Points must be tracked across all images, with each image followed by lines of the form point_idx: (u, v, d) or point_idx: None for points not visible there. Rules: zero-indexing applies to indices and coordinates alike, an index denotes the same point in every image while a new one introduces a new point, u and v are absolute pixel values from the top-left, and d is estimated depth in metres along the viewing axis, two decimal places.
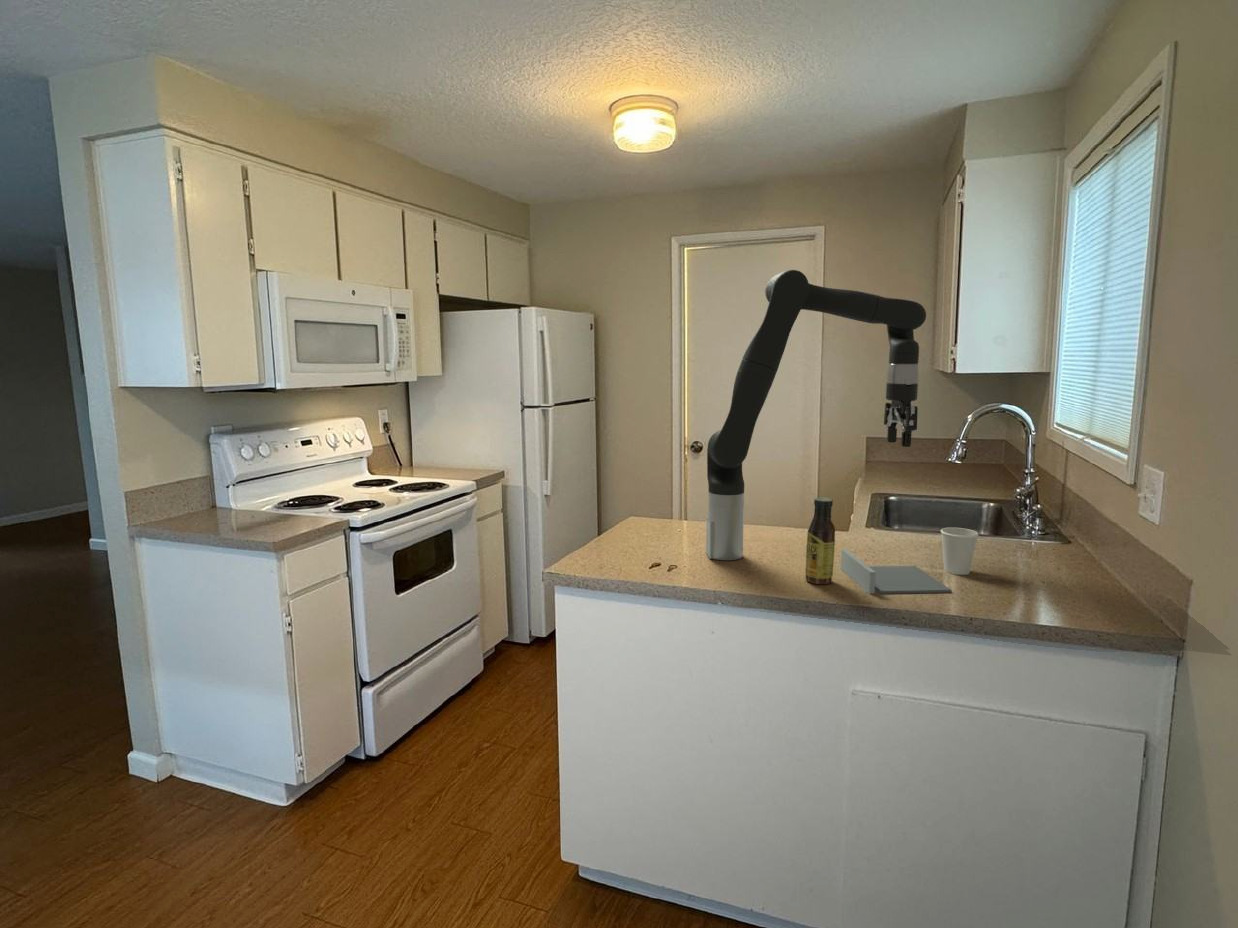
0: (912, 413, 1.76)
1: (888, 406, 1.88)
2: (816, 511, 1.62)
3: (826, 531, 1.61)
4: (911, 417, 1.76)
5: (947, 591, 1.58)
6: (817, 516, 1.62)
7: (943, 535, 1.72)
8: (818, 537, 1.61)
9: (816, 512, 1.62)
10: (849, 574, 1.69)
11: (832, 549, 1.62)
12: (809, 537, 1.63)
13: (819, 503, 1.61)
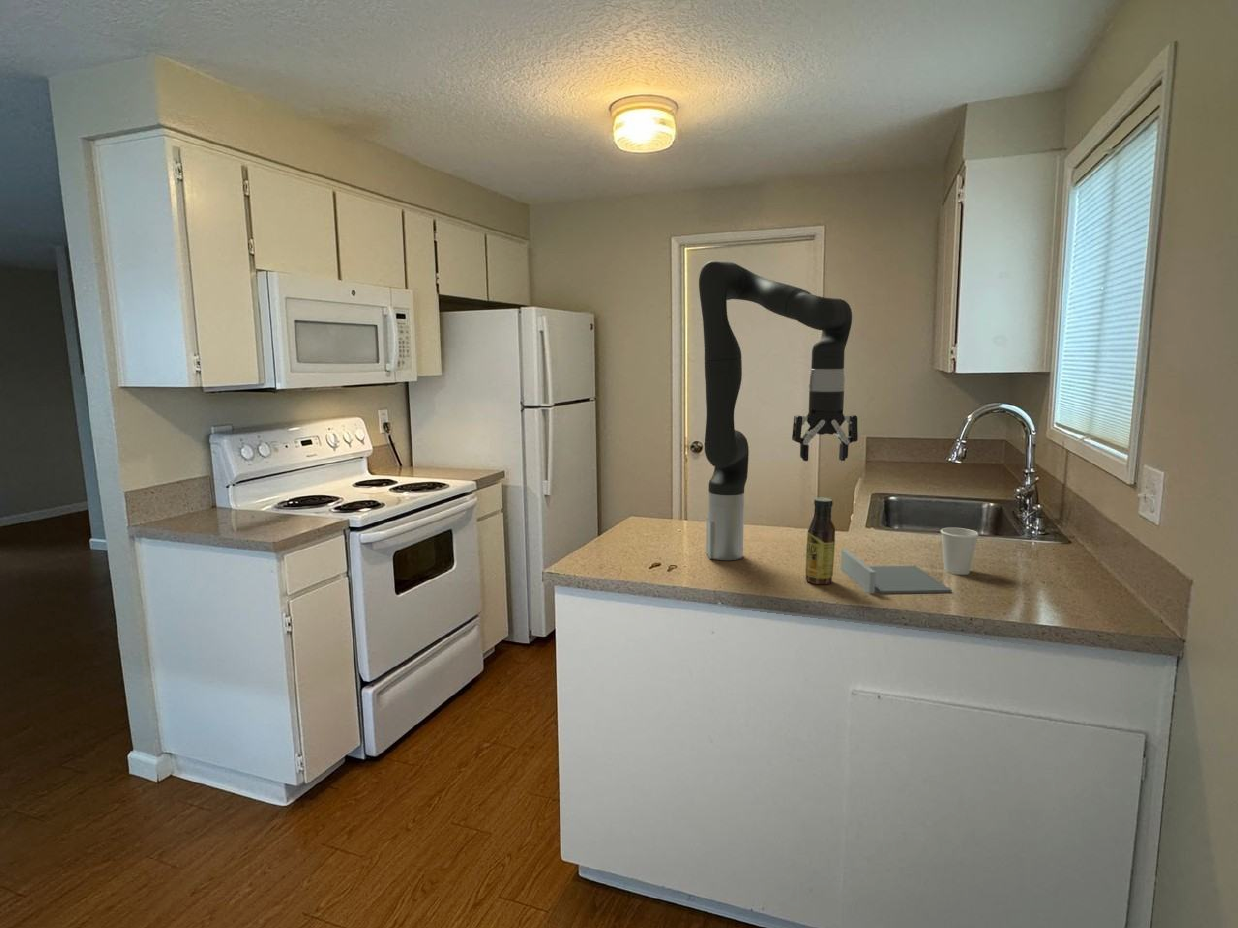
0: None
1: None
2: (816, 511, 1.62)
3: (826, 531, 1.61)
4: None
5: (947, 591, 1.58)
6: (817, 516, 1.62)
7: (943, 535, 1.72)
8: (818, 537, 1.61)
9: (816, 512, 1.62)
10: (849, 574, 1.69)
11: (832, 549, 1.62)
12: (809, 537, 1.63)
13: (819, 503, 1.61)
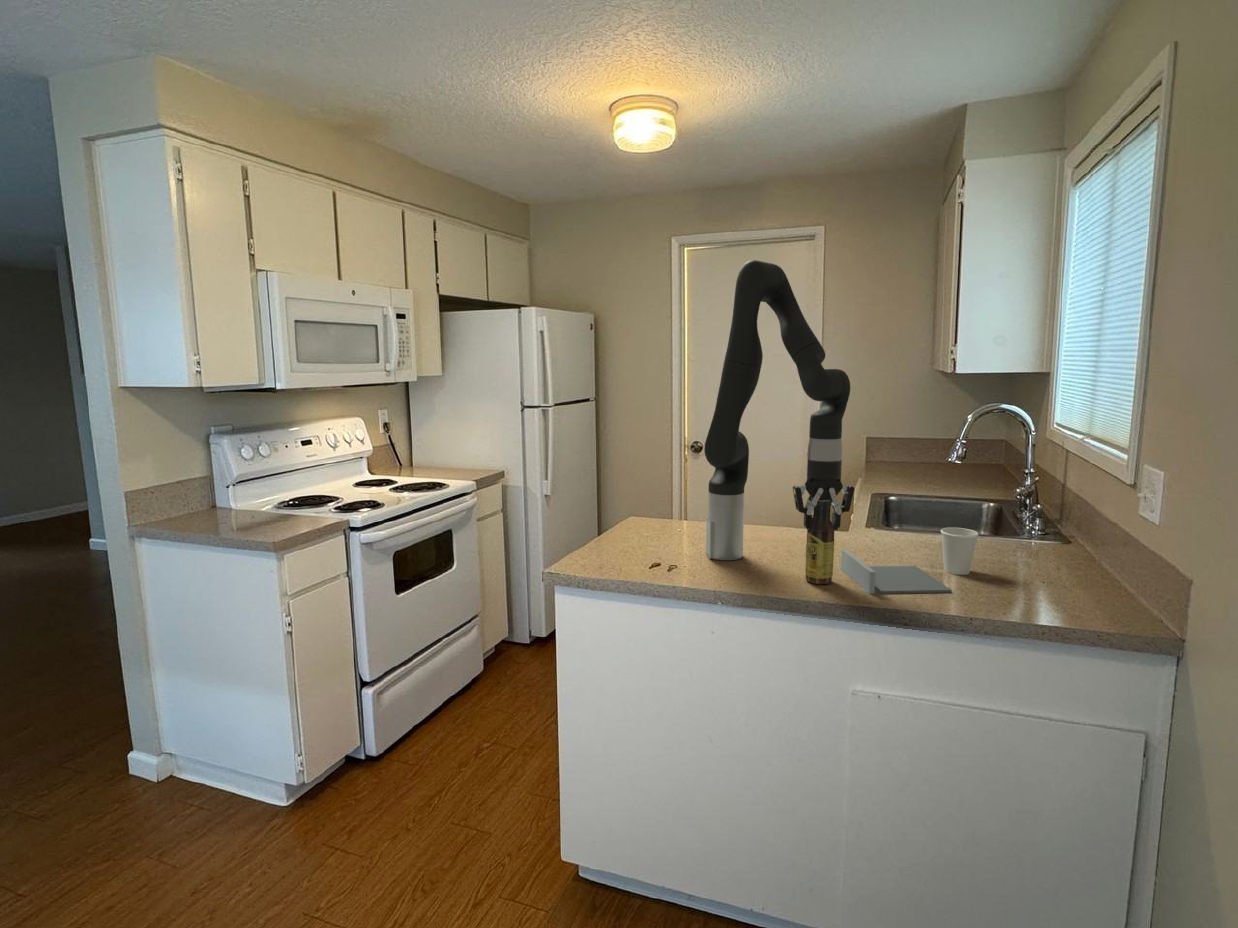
0: None
1: None
2: (815, 511, 1.62)
3: (826, 531, 1.60)
4: None
5: (947, 591, 1.58)
6: (816, 516, 1.62)
7: (943, 535, 1.72)
8: (818, 537, 1.61)
9: (815, 512, 1.62)
10: (849, 574, 1.69)
11: (832, 549, 1.62)
12: (808, 537, 1.63)
13: (818, 503, 1.61)
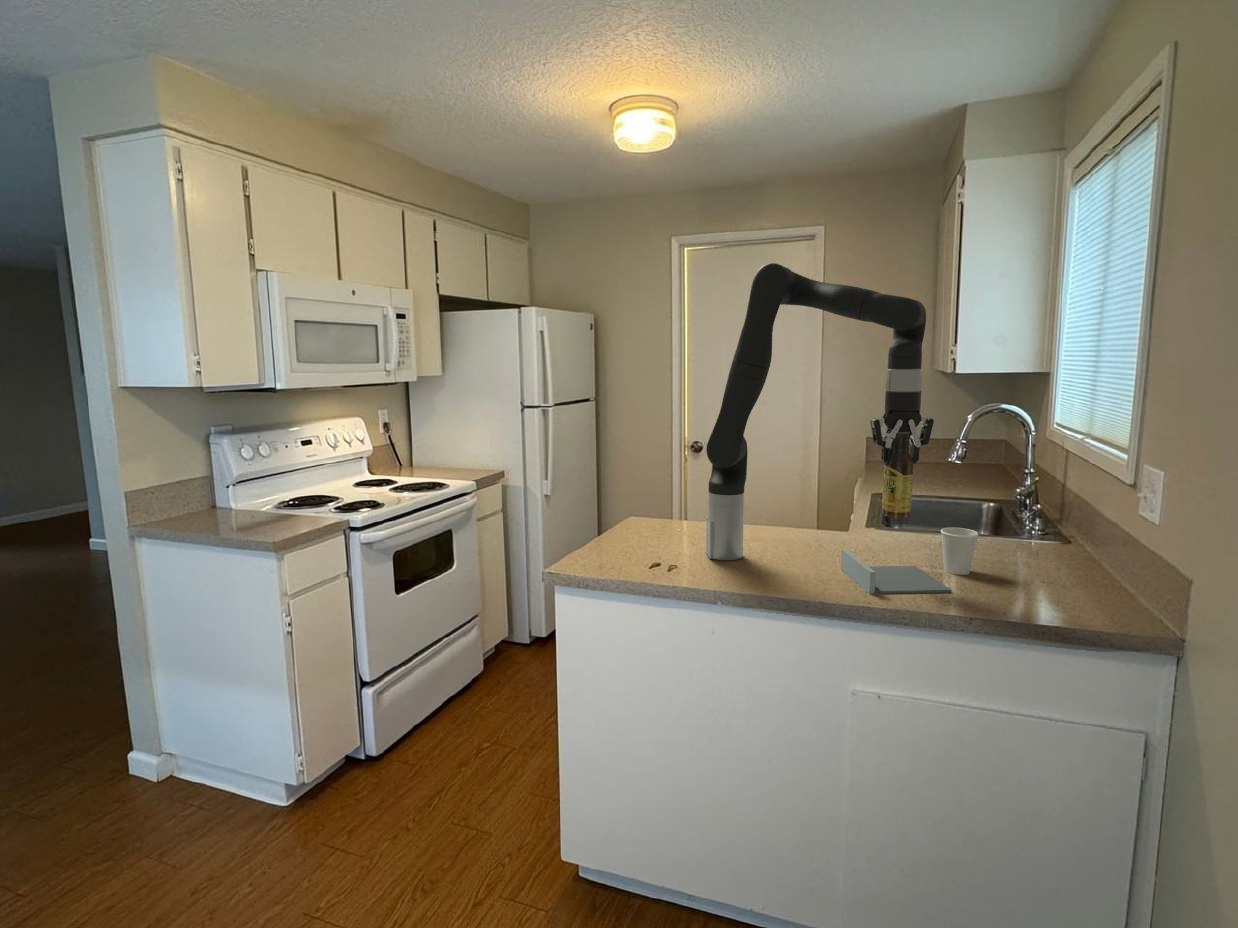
0: None
1: None
2: (894, 444, 1.60)
3: (905, 463, 1.59)
4: None
5: (947, 591, 1.58)
6: (895, 449, 1.60)
7: (943, 535, 1.72)
8: (897, 469, 1.59)
9: (894, 445, 1.60)
10: (849, 574, 1.69)
11: (911, 482, 1.60)
12: (887, 471, 1.61)
13: (897, 435, 1.59)
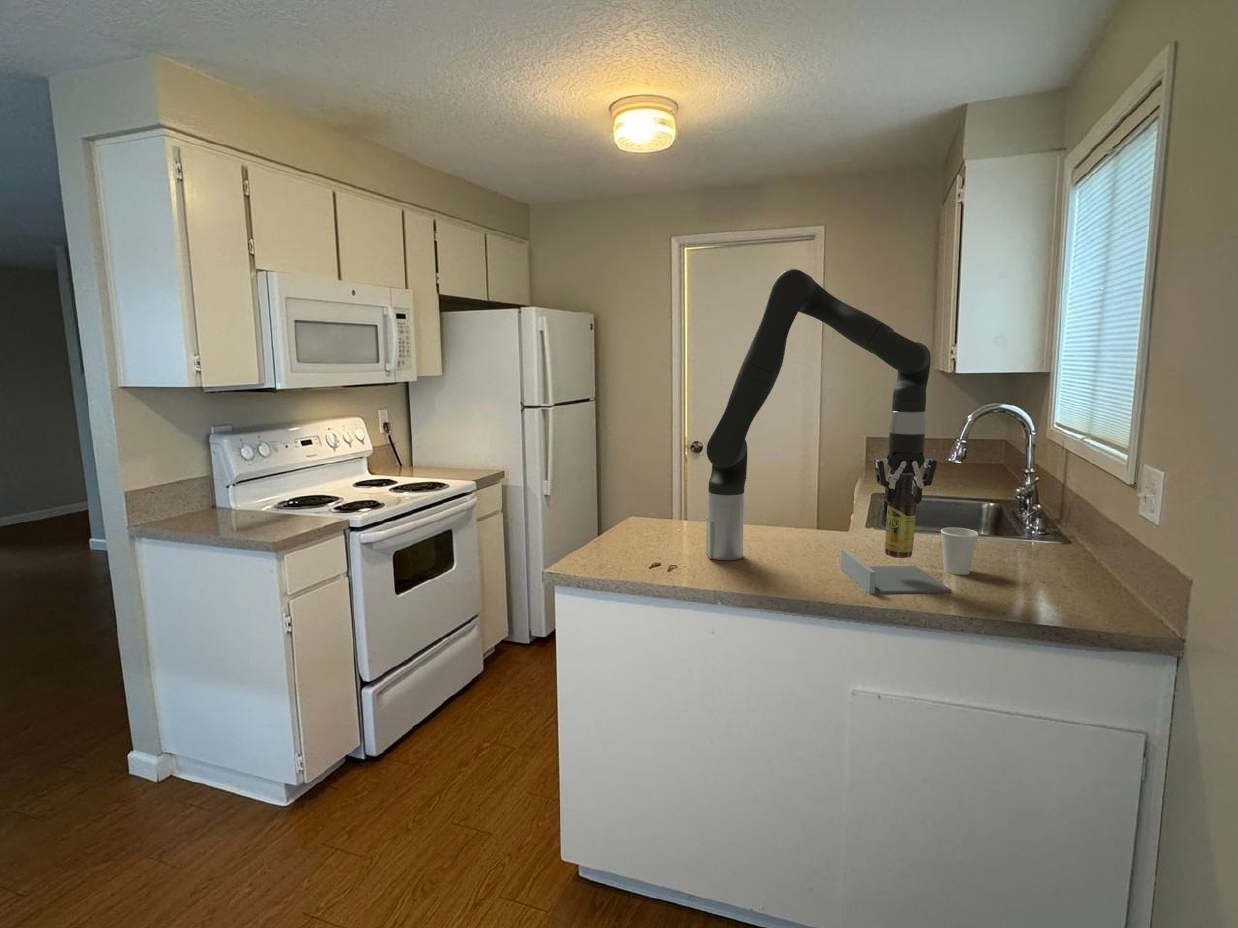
0: None
1: None
2: (897, 484, 1.62)
3: (909, 504, 1.60)
4: None
5: (947, 591, 1.58)
6: (899, 490, 1.61)
7: (943, 535, 1.72)
8: (900, 510, 1.61)
9: (897, 485, 1.62)
10: (849, 574, 1.69)
11: (913, 522, 1.62)
12: (890, 511, 1.63)
13: (900, 476, 1.61)
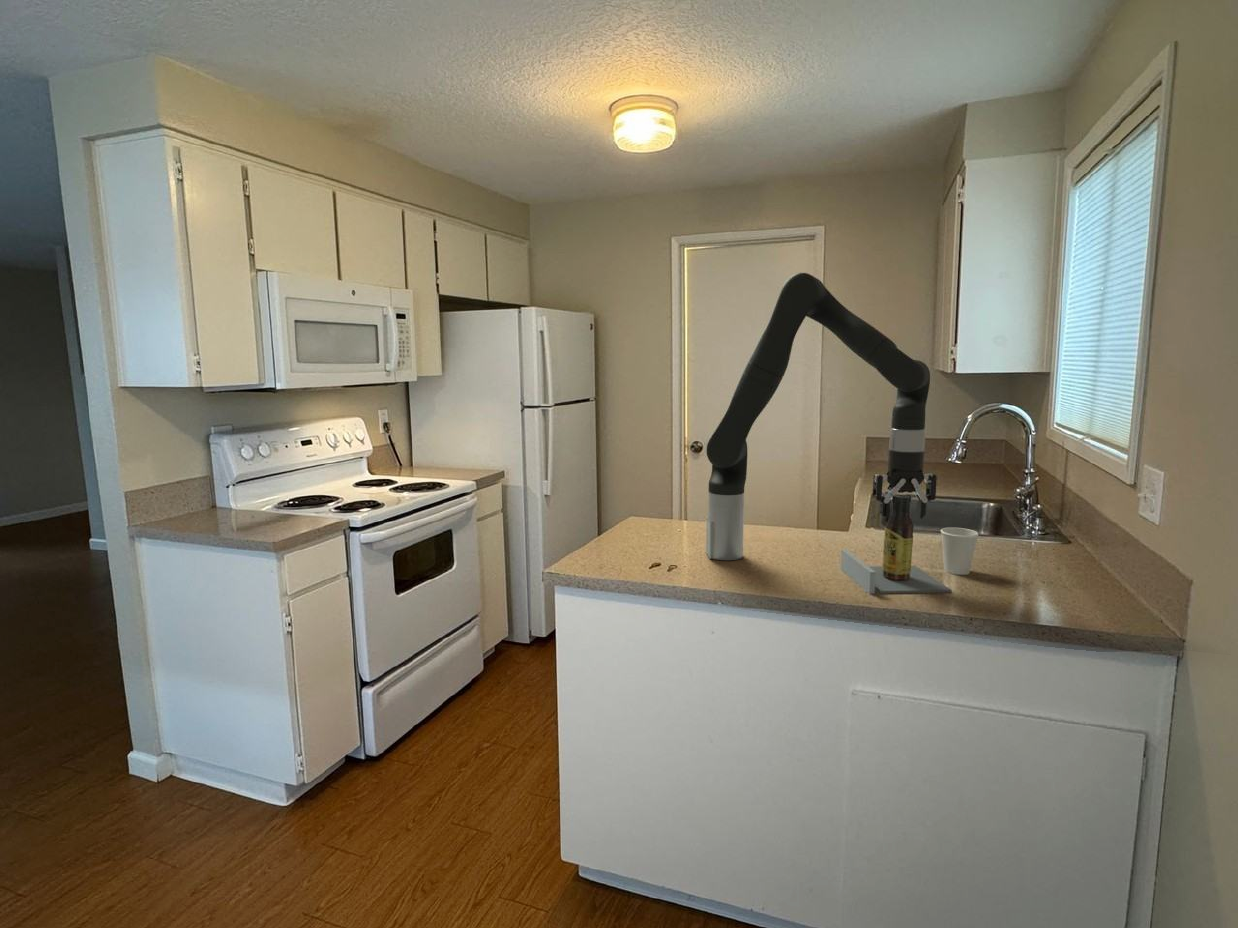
0: None
1: None
2: (895, 507, 1.63)
3: (906, 527, 1.61)
4: None
5: (947, 591, 1.58)
6: (896, 513, 1.62)
7: (943, 535, 1.72)
8: (898, 533, 1.62)
9: (895, 508, 1.63)
10: (849, 574, 1.69)
11: (911, 545, 1.63)
12: (887, 533, 1.64)
13: (898, 499, 1.62)
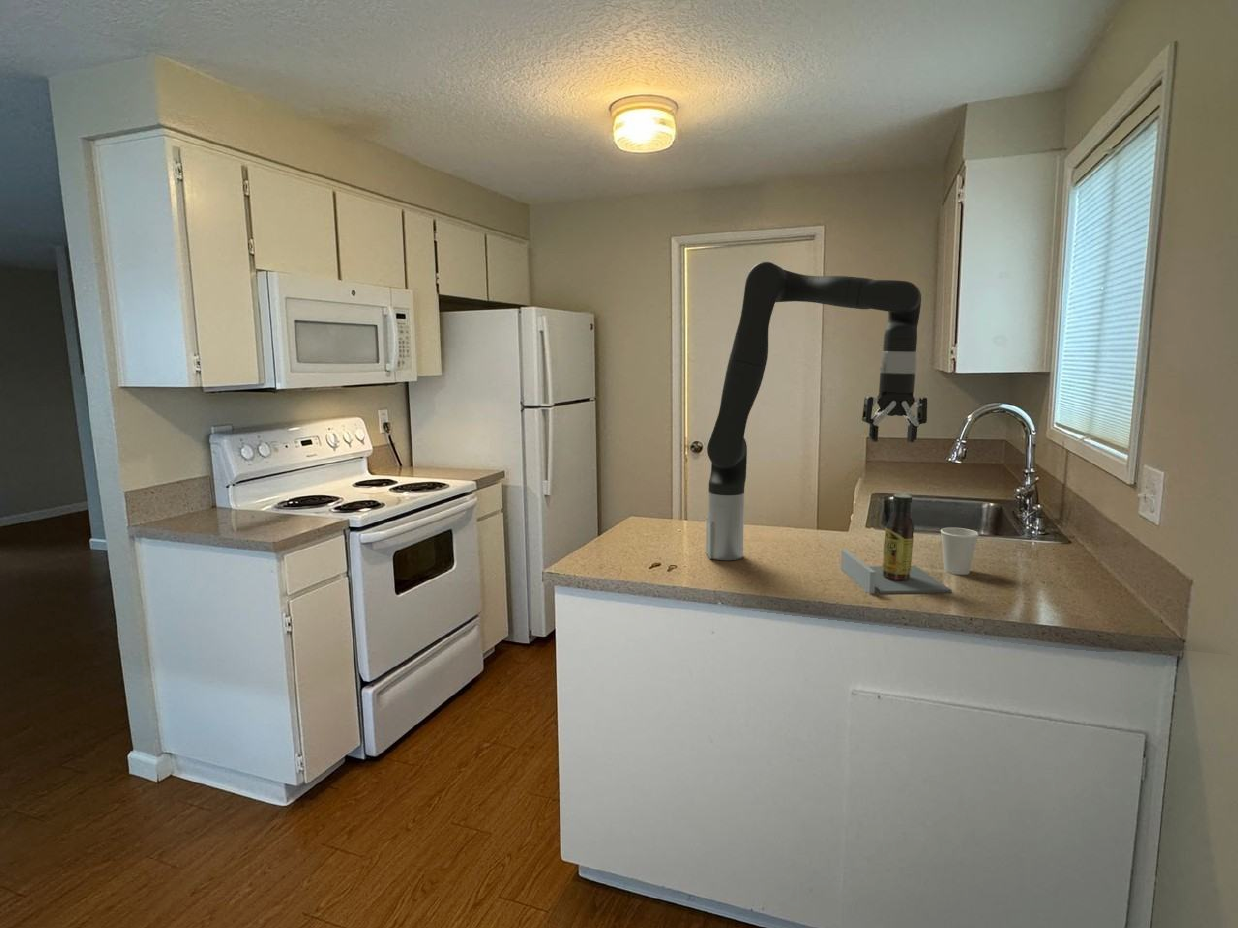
0: None
1: None
2: (895, 507, 1.63)
3: (907, 527, 1.61)
4: None
5: (947, 591, 1.58)
6: (897, 513, 1.62)
7: (943, 535, 1.72)
8: (898, 533, 1.62)
9: (895, 508, 1.63)
10: (849, 574, 1.69)
11: (911, 545, 1.63)
12: (888, 533, 1.64)
13: (899, 499, 1.62)
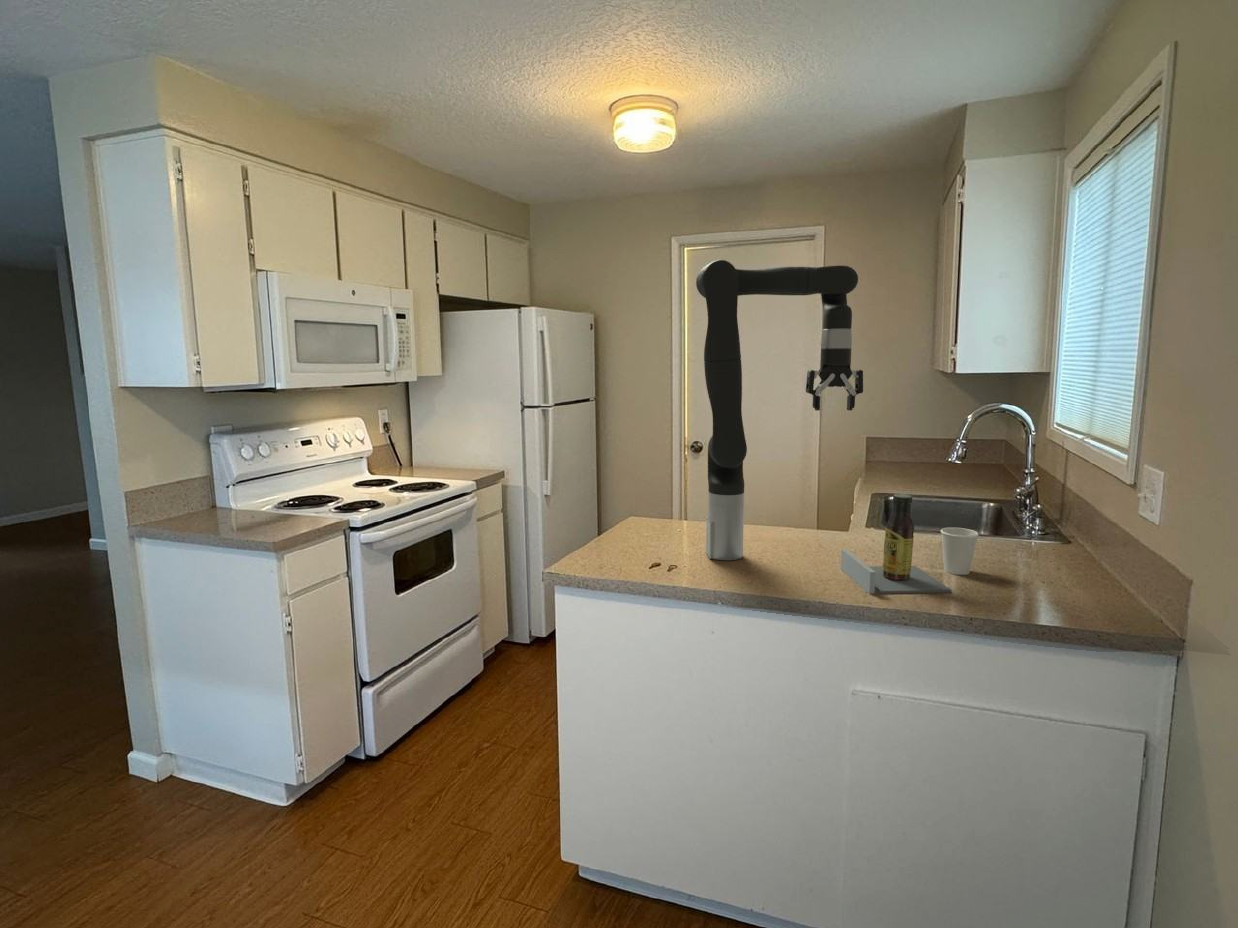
0: None
1: None
2: (895, 507, 1.63)
3: (907, 527, 1.61)
4: None
5: (947, 591, 1.58)
6: (897, 513, 1.62)
7: (943, 535, 1.72)
8: (898, 533, 1.62)
9: (895, 508, 1.63)
10: (849, 574, 1.69)
11: (911, 545, 1.63)
12: (888, 533, 1.64)
13: (899, 499, 1.62)
